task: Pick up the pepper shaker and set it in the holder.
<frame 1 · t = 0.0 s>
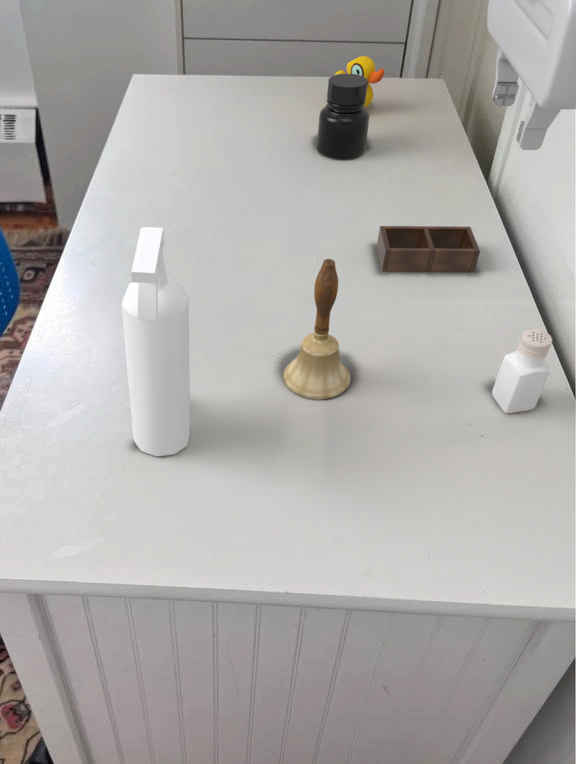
hand: (514, 123, 64), 31 cm above the table, tool pointing down, fingers open, 8 cm apart
hand bell: (316, 379, 89), on the table
white spray bottle: (165, 432, 83), on the table
holder: (422, 266, 106), on the table
pepper shaker: (511, 403, 86), on the table
duckling: (352, 111, 146), on the table
ink bottle: (340, 151, 133), on the table
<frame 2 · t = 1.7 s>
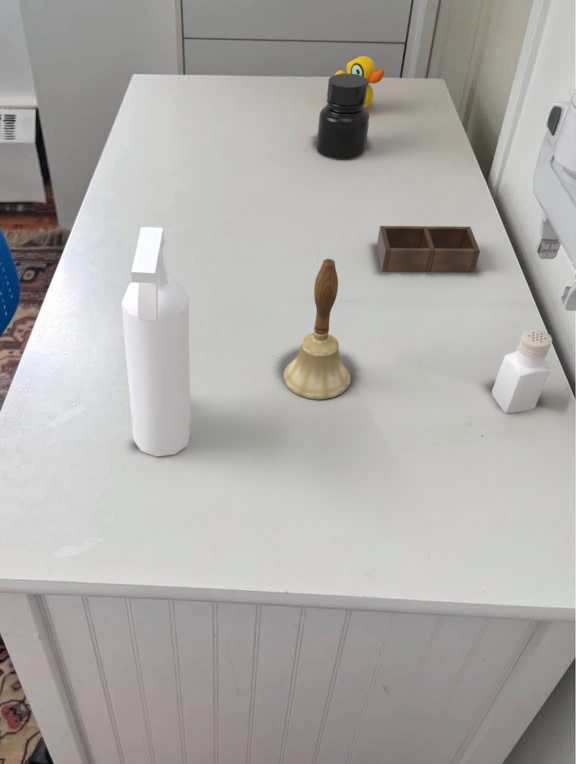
hand: (557, 280, 73), 17 cm above the table, tool pointing down, fingers open, 8 cm apart
nothing on the table moved.
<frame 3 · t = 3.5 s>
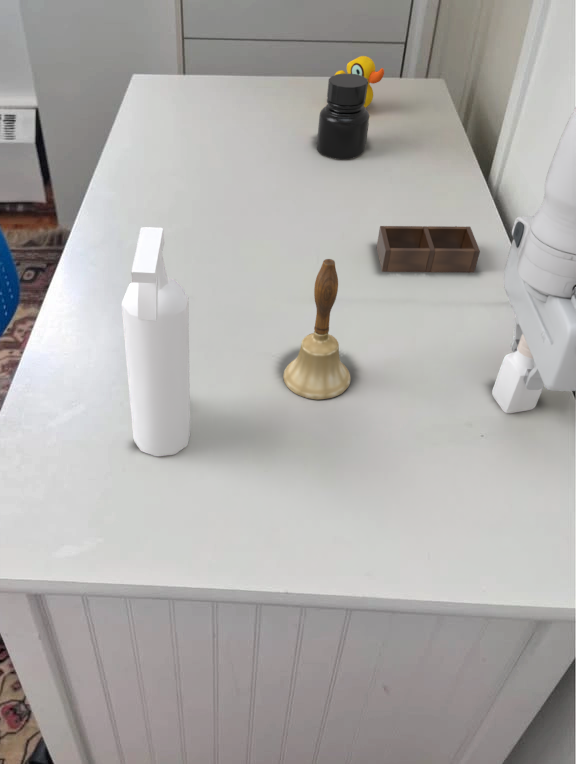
hand: (525, 368, 82), 5 cm above the table, tool pointing down, fingers closed on pepper shaker, 4 cm apart
pepper shaker: (511, 403, 86), on the table, touching gripper
everything else where it was.
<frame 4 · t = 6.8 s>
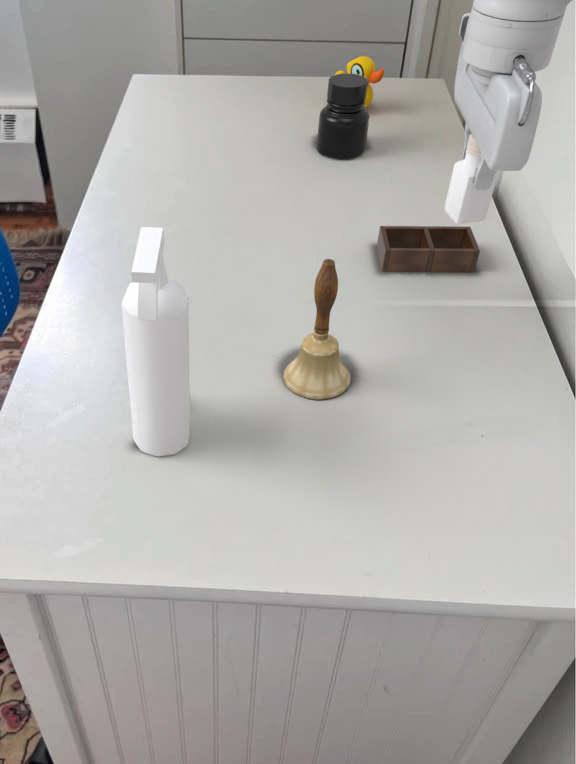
hand: (474, 174, 84), 19 cm above the table, tool pointing down, fingers closed on pepper shaker, 4 cm apart
pepper shaker: (463, 218, 87), point 14 cm above the table, touching gripper
everything else where it was.
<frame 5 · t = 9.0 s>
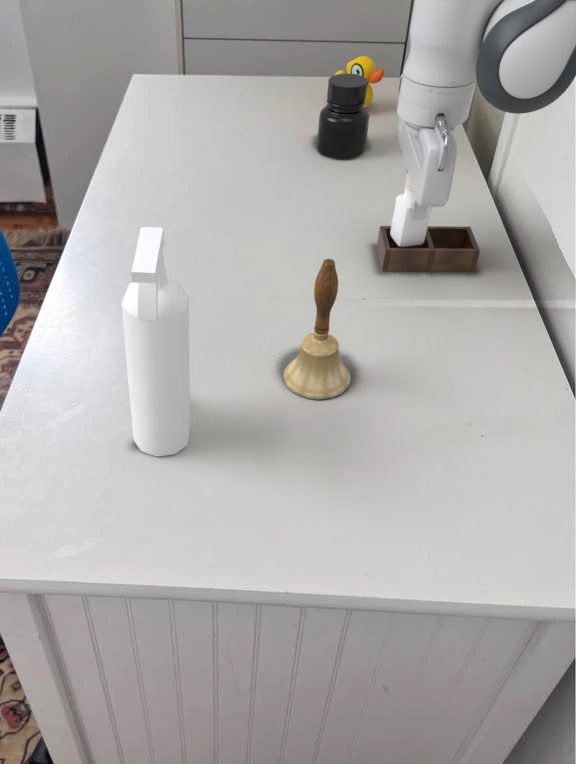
hand: (413, 206, 99), 9 cm above the table, tool pointing down, fingers closed on pepper shaker, 4 cm apart
pepper shaker: (406, 241, 103), point 4 cm above the table, touching gripper
everything else where it was.
when the fingers open (6 cm above the table, at t = 10.4 s): pepper shaker stays where it is, resting on holder.
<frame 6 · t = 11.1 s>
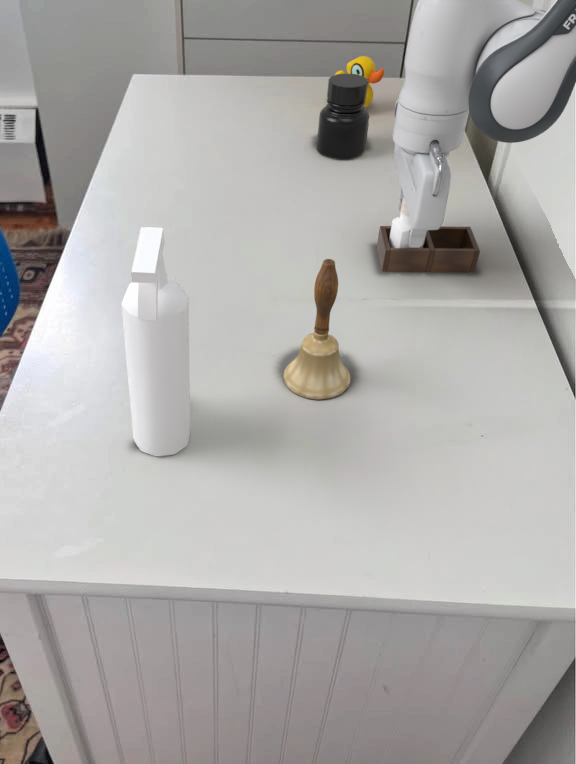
hand: (409, 227, 101), 6 cm above the table, tool pointing down, fingers open, 8 cm apart
pepper shaker: (401, 263, 106), point 1 cm above the table, touching holder
everything else where it was.
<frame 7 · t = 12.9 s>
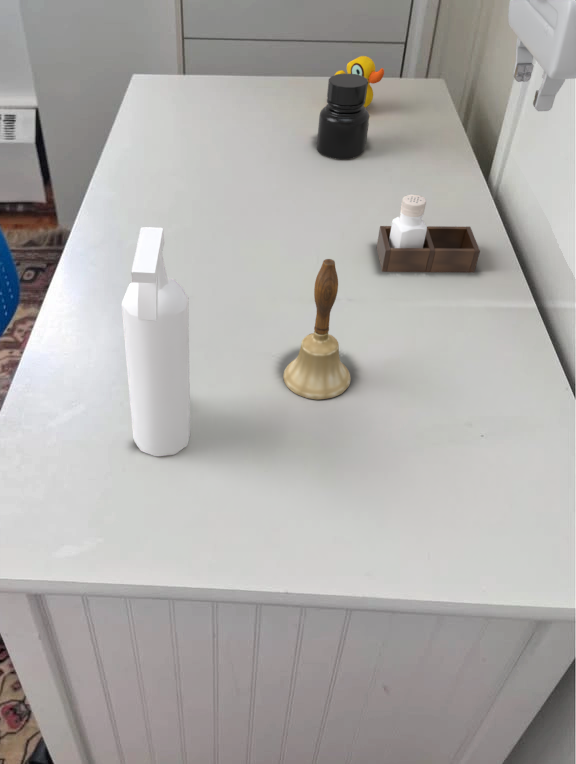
hand: (530, 93, 86), 25 cm above the table, tool pointing down, fingers open, 8 cm apart
nothing on the table moved.
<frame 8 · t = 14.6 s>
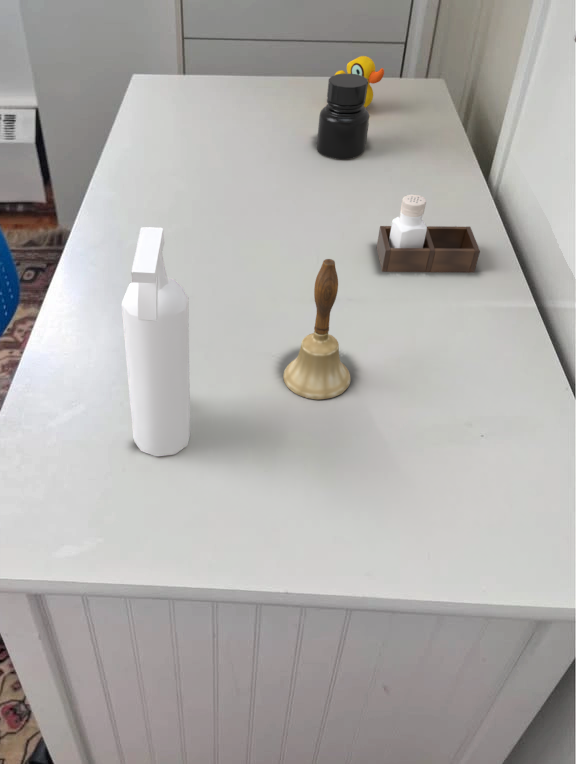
nothing on the table moved.
at the end: pepper shaker 0.1 cm from the target spot in the holder, point 0.6 cm above the holder's base; pepper shaker tilted 0°; the gripper is holding nothing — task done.
